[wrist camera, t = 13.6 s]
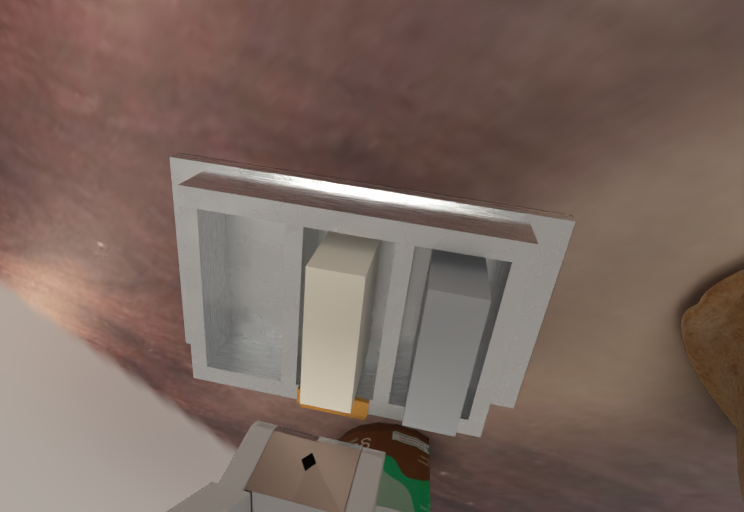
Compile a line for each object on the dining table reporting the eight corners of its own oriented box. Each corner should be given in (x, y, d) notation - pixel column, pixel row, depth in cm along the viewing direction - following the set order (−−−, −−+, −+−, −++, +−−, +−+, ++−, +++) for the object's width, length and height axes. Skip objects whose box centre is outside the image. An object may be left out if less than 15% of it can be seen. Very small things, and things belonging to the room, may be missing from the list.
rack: (571, 215, 26) (594, 249, 22) (509, 404, 33) (517, 459, 29) (178, 153, 29) (130, 173, 24) (193, 341, 35) (157, 383, 31)
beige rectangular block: (383, 229, 28) (365, 276, 22) (368, 349, 32) (350, 413, 26) (334, 222, 28) (305, 266, 23) (325, 341, 32) (299, 403, 27)
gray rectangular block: (484, 248, 27) (491, 300, 22) (455, 367, 31) (454, 436, 26) (433, 239, 27) (428, 289, 22) (411, 358, 31) (402, 425, 26)
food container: (377, 383, 34) (349, 506, 25) (441, 428, 35) (436, 562, 26) (292, 464, 39) (244, 589, 31) (349, 501, 40) (320, 633, 31)
